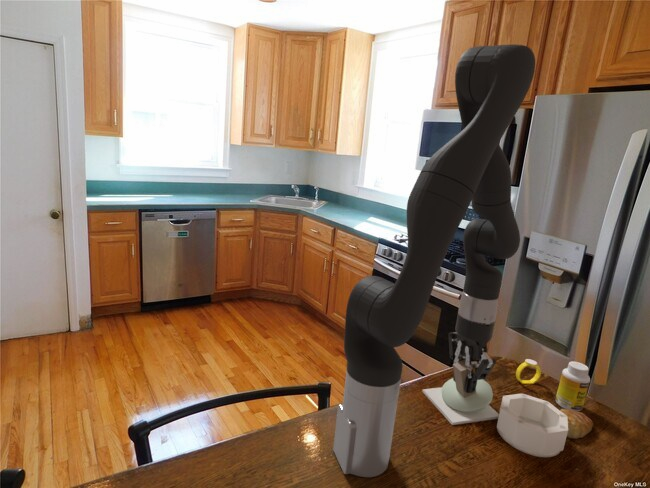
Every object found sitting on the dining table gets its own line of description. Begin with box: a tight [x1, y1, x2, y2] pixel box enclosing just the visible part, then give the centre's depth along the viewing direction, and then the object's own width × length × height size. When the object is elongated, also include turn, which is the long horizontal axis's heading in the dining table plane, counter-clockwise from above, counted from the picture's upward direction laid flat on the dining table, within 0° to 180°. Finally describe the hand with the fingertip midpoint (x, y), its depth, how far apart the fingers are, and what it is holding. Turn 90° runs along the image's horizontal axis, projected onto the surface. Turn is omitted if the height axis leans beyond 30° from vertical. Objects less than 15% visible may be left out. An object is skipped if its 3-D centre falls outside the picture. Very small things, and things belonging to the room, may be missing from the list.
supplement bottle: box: [555, 360, 591, 412], centre depth 98 cm, size 6×6×10 cm
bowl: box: [496, 393, 568, 458], centre depth 86 cm, size 12×12×6 cm
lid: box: [441, 359, 494, 412], centre depth 94 cm, size 11×11×8 cm
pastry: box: [559, 408, 594, 440], centre depth 90 cm, size 9×7×4 cm
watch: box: [515, 358, 542, 385], centre depth 106 cm, size 6×3×6 cm, turn 99°
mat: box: [422, 386, 499, 426], centre depth 95 cm, size 12×12×1 cm
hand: (463, 386), depth 94 cm, fingers open, 3 cm apart
